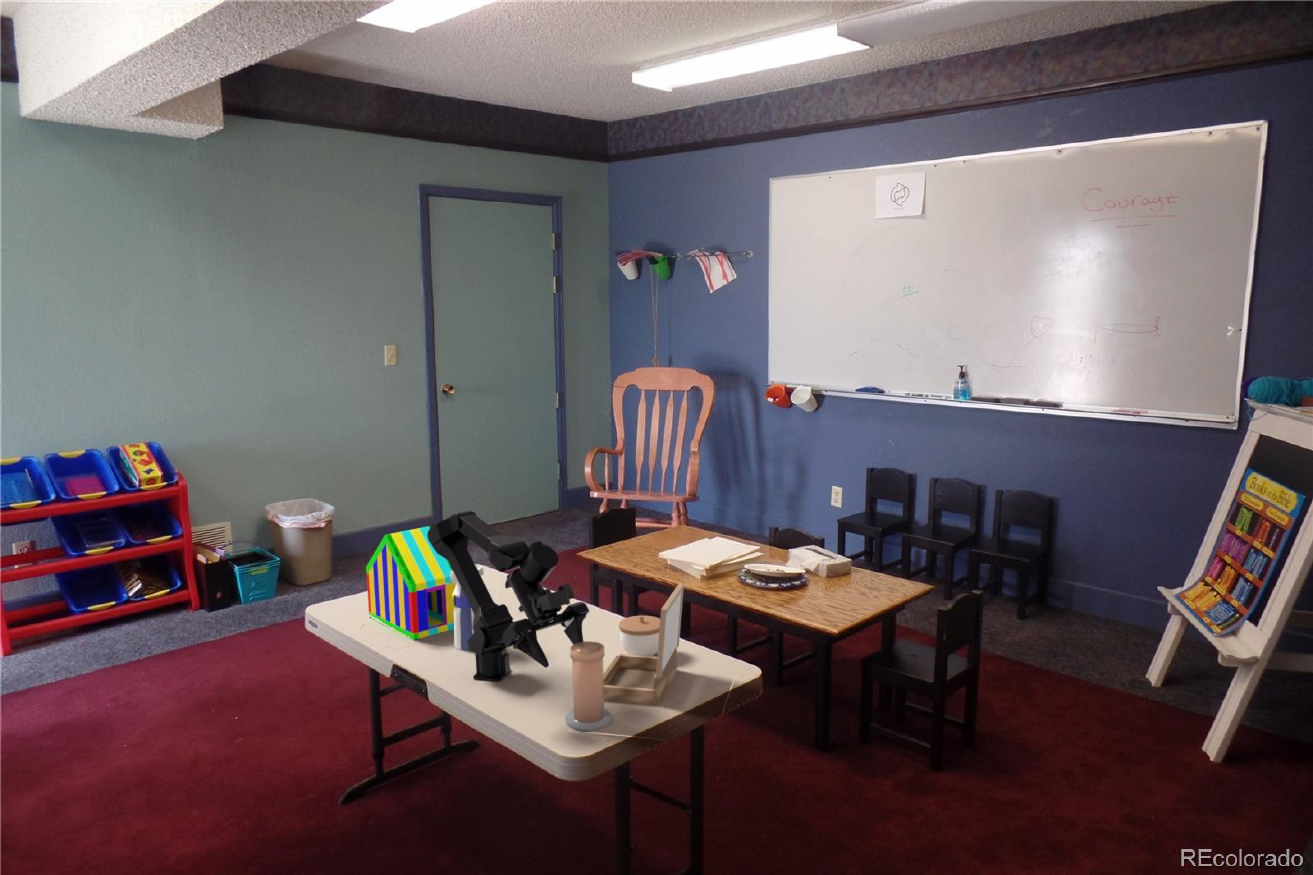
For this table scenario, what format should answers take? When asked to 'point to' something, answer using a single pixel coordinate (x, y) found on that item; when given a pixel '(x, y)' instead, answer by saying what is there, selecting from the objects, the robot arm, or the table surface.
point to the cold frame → (637, 679)
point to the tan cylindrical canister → (588, 681)
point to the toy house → (410, 585)
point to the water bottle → (462, 614)
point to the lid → (669, 628)
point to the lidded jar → (640, 635)
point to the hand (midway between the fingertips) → (565, 660)
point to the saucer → (587, 726)
